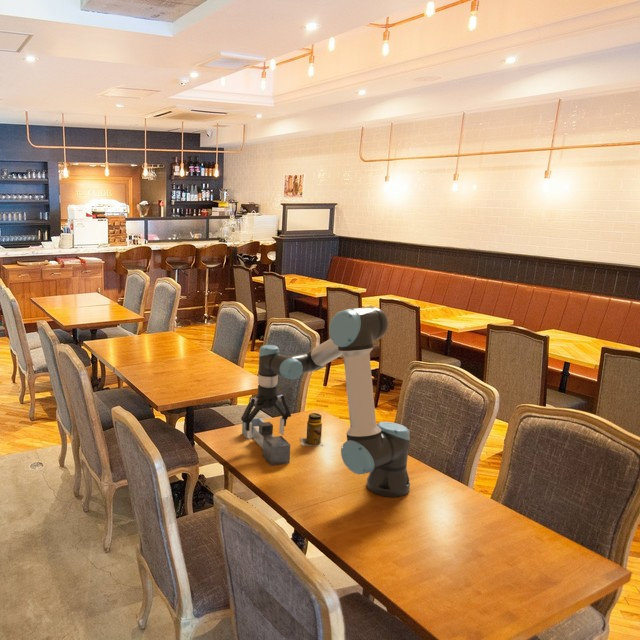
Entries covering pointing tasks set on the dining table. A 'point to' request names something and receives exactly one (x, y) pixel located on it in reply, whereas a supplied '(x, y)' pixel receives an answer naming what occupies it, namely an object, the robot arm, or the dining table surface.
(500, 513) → the dining table surface
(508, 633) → the dining table surface
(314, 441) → the yellow drink bottle
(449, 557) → the dining table surface
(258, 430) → the light gray bar
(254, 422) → the socket
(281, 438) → the sleeve
